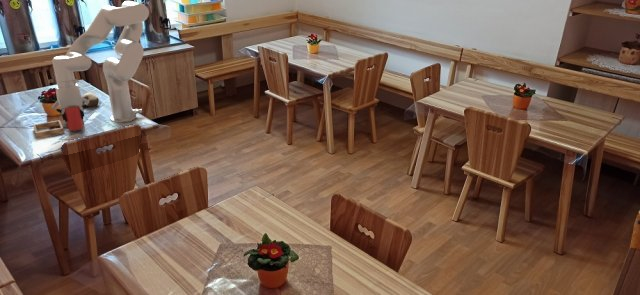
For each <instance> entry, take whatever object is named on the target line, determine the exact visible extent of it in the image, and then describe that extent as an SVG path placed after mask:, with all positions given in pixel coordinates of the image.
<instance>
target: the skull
mask: <svg viewBox="0 0 640 295" xmlns="http://www.w3.org/2000/svg"><path fill="white" fill-rule="evenodd" d="M82 97H83V98H85V99H87V100H88V101H89V103H88V105H87V106H86V108H85V109H89V108H96V107H98V106H97V105H98V103H100V102H99V97H98V96H97V95H96V94H94V93H93V92H86V93H84V95H83V96H82ZM84 103H85V102H84V101H83V104H84ZM81 106H82V105H81Z"/></svg>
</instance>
